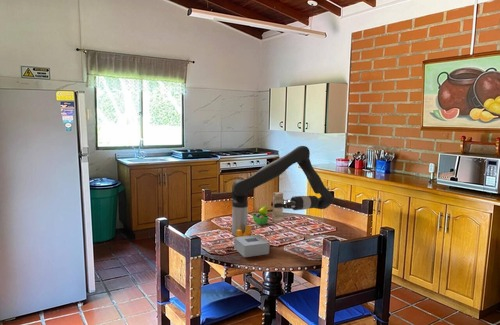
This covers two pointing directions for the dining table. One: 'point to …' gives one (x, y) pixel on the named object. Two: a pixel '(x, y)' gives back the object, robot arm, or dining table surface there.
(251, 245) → the grey square socket block
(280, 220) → the wooden bar
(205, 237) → the dining table surface
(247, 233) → the pipe clamp
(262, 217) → the fruit basket
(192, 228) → the dining table surface
